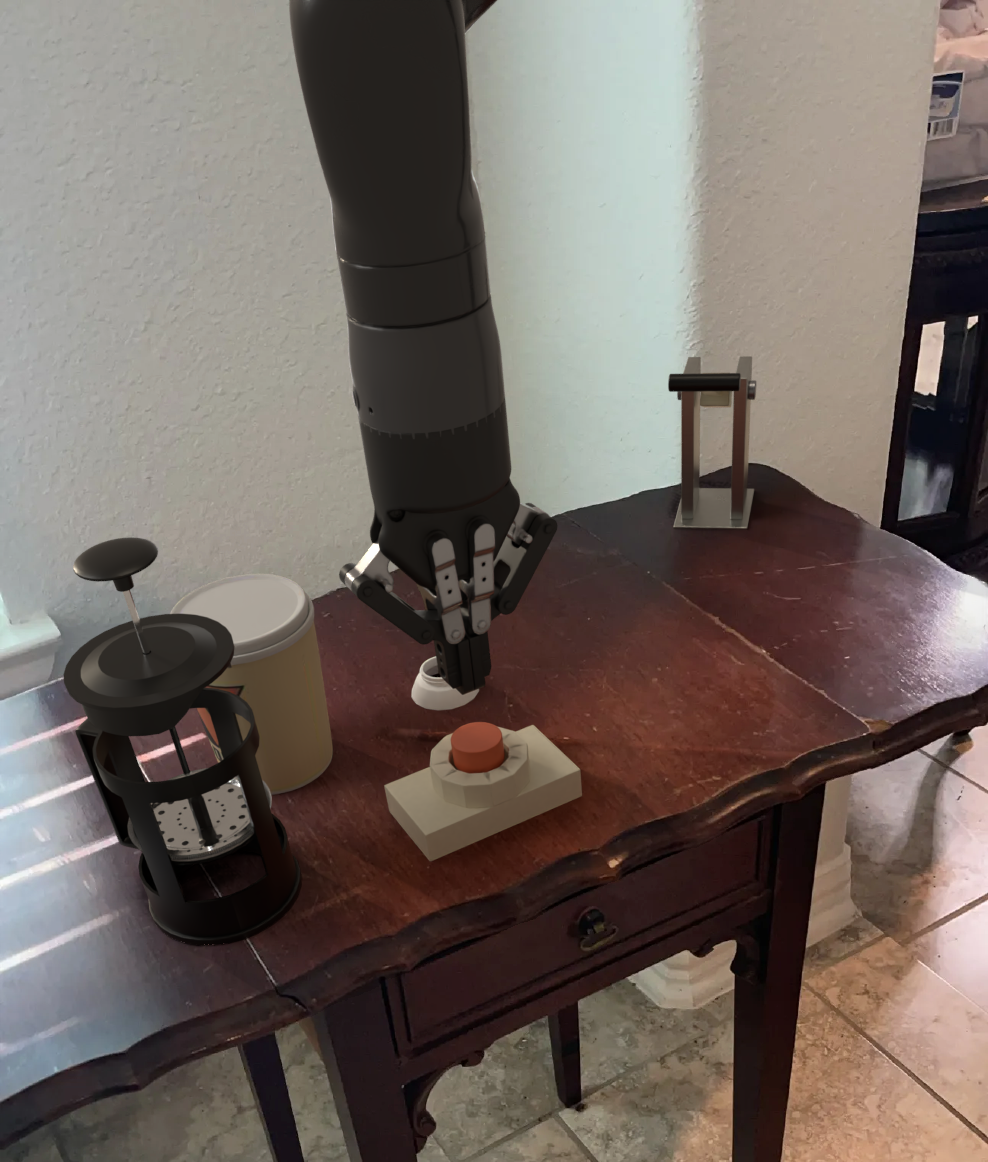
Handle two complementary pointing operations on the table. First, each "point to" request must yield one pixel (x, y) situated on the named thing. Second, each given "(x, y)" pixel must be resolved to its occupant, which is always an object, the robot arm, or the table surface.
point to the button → (477, 747)
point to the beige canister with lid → (271, 673)
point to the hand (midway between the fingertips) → (467, 684)
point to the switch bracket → (699, 503)
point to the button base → (482, 793)
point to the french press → (195, 798)
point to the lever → (707, 387)
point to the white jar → (437, 690)
